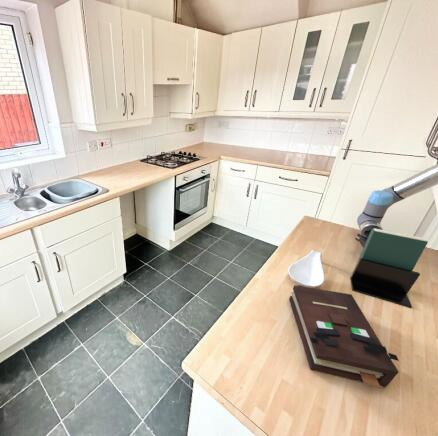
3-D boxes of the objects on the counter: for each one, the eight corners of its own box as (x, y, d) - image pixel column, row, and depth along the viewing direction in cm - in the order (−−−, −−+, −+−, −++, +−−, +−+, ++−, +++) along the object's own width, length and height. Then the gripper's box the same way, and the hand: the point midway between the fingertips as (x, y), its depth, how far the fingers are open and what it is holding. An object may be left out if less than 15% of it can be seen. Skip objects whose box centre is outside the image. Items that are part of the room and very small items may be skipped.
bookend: (404, 293, 87) (419, 272, 82) (411, 308, 82) (426, 286, 77) (349, 278, 95) (360, 257, 90) (352, 290, 89) (363, 269, 84)
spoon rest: (317, 297, 86) (323, 282, 83) (282, 282, 93) (286, 268, 90) (329, 265, 102) (335, 251, 98) (298, 254, 109) (302, 240, 105)
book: (424, 238, 83) (428, 241, 80) (398, 286, 90) (401, 290, 88) (372, 227, 89) (374, 230, 87) (352, 273, 97) (353, 277, 94)
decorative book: (353, 288, 80) (413, 382, 55) (345, 304, 84) (397, 399, 58) (289, 278, 85) (317, 360, 59) (283, 293, 88) (307, 377, 63)
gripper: (387, 243, 107) (400, 274, 90) (350, 235, 113) (356, 263, 96) (395, 229, 104) (410, 258, 86) (356, 221, 110) (364, 247, 92)
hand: (382, 261), depth 91 cm, fingers closed
